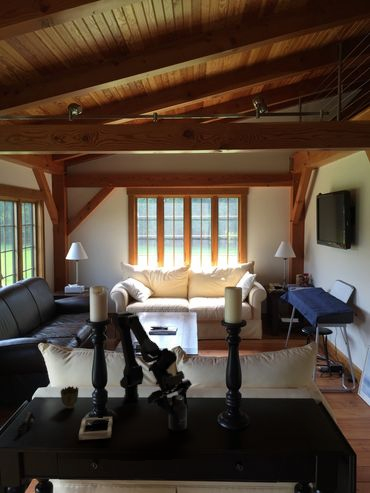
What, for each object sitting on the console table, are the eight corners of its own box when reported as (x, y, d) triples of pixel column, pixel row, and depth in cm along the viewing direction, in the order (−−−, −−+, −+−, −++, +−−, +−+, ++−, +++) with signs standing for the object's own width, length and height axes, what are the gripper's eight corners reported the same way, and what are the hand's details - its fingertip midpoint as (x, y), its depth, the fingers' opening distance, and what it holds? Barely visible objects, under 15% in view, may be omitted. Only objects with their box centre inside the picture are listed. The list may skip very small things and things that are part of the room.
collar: (83, 423, 154) (82, 418, 154) (112, 421, 156) (112, 416, 156) (78, 440, 143) (78, 434, 143) (110, 437, 144) (110, 431, 144)
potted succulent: (57, 410, 166) (56, 391, 165) (68, 402, 172) (67, 384, 172) (71, 413, 163) (71, 394, 162) (82, 405, 170) (82, 387, 169)
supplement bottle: (184, 433, 147) (184, 402, 146) (167, 431, 149) (166, 400, 148) (188, 423, 154) (188, 394, 153) (171, 422, 155) (171, 392, 154)
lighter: (26, 440, 148) (21, 432, 145) (21, 439, 148) (15, 431, 145) (36, 418, 155) (32, 410, 151) (31, 417, 155) (26, 409, 152)
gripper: (151, 371, 146) (170, 411, 139) (188, 359, 159) (208, 395, 151) (139, 385, 153) (157, 424, 145) (176, 373, 165) (194, 407, 158)
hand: (180, 412), depth 150 cm, fingers closed on supplement bottle, 7 cm apart
